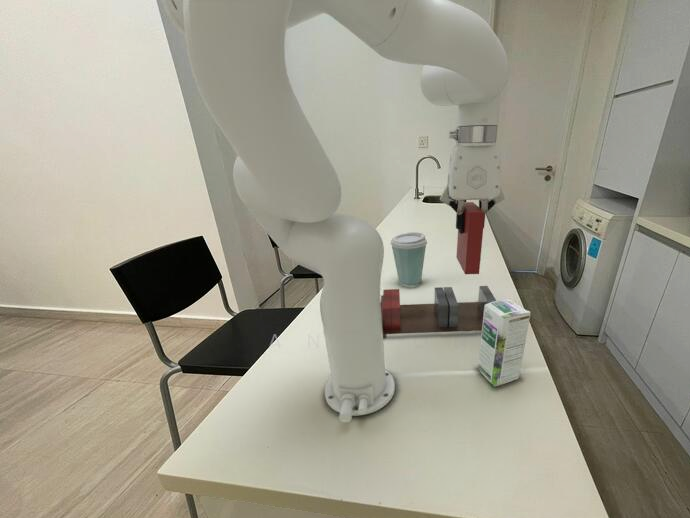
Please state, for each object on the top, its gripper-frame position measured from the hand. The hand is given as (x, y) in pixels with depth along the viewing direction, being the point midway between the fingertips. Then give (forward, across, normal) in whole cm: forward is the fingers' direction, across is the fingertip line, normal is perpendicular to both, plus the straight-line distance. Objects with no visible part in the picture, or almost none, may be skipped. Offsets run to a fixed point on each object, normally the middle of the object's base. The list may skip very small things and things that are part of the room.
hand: (469, 231), depth 71 cm
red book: (+8, 0, 0) cm, 8 cm away
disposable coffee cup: (+22, -12, +24) cm, 35 cm away
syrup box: (+23, +3, -20) cm, 31 cm away
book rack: (+22, -6, +1) cm, 23 cm away
